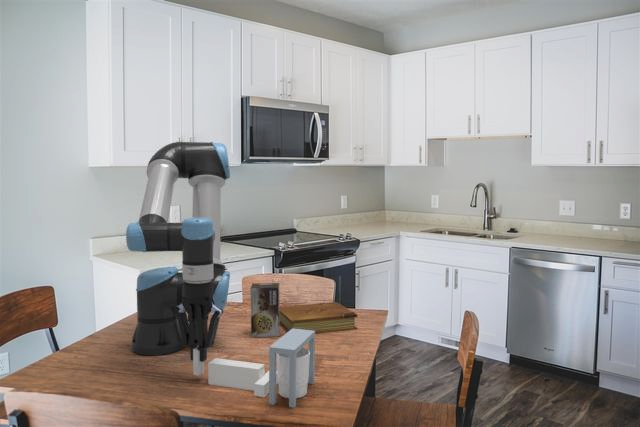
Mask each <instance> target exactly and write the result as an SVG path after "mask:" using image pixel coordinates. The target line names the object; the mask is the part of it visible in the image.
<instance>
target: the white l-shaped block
mask: <svg viewBox="0 0 640 427" xmlns="http://www.w3.org/2000/svg"><path fill="white" fill-rule="evenodd" d="M207 366H208V367H207V368H208V371H207V372H208V373H207V374H208V375H207V376H208V377H207V378H208V385H212V386H218V387H225V388H232V389H239V390H246V391H253V392H254V393H253V396H254V397H257V396H258V397H260V398H265V397H266V396H268V395H269V370H268V371H267V372H266V371H265V370H266V369H265V368H266V367H265V366H266V365H265V363H257V362H249V361H240V360H233V359H225V358H217V357H215V358H213V359H212V360H210V361H209V362H208V365H207ZM277 385H279V383H278V373H277V370H276V386H277Z"/></svg>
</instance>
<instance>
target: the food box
mask: <svg viewBox="0 0 640 427" xmlns="http://www.w3.org/2000/svg"><path fill="white" fill-rule="evenodd" d="M249 290H250V337H251V338H267V337H270V338H274V337H280V335H281V333H280V332H281V326H280V307H281V305H280V283H279V282H277V283H276V282H275V283H274V282H260V283H259V282H258V283H257V282H255V283H253V282H252V284H251V287H250V289H249Z"/></svg>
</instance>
